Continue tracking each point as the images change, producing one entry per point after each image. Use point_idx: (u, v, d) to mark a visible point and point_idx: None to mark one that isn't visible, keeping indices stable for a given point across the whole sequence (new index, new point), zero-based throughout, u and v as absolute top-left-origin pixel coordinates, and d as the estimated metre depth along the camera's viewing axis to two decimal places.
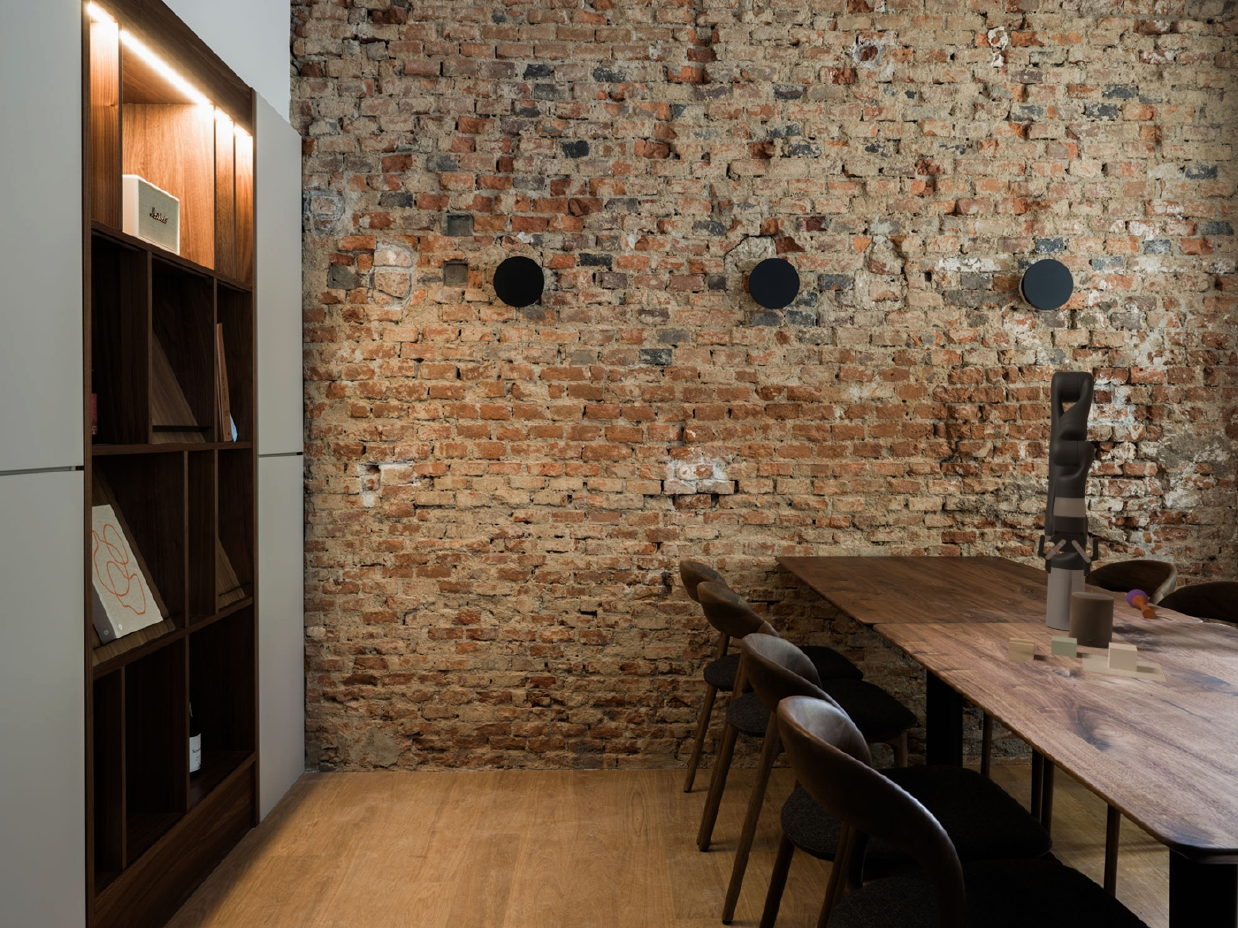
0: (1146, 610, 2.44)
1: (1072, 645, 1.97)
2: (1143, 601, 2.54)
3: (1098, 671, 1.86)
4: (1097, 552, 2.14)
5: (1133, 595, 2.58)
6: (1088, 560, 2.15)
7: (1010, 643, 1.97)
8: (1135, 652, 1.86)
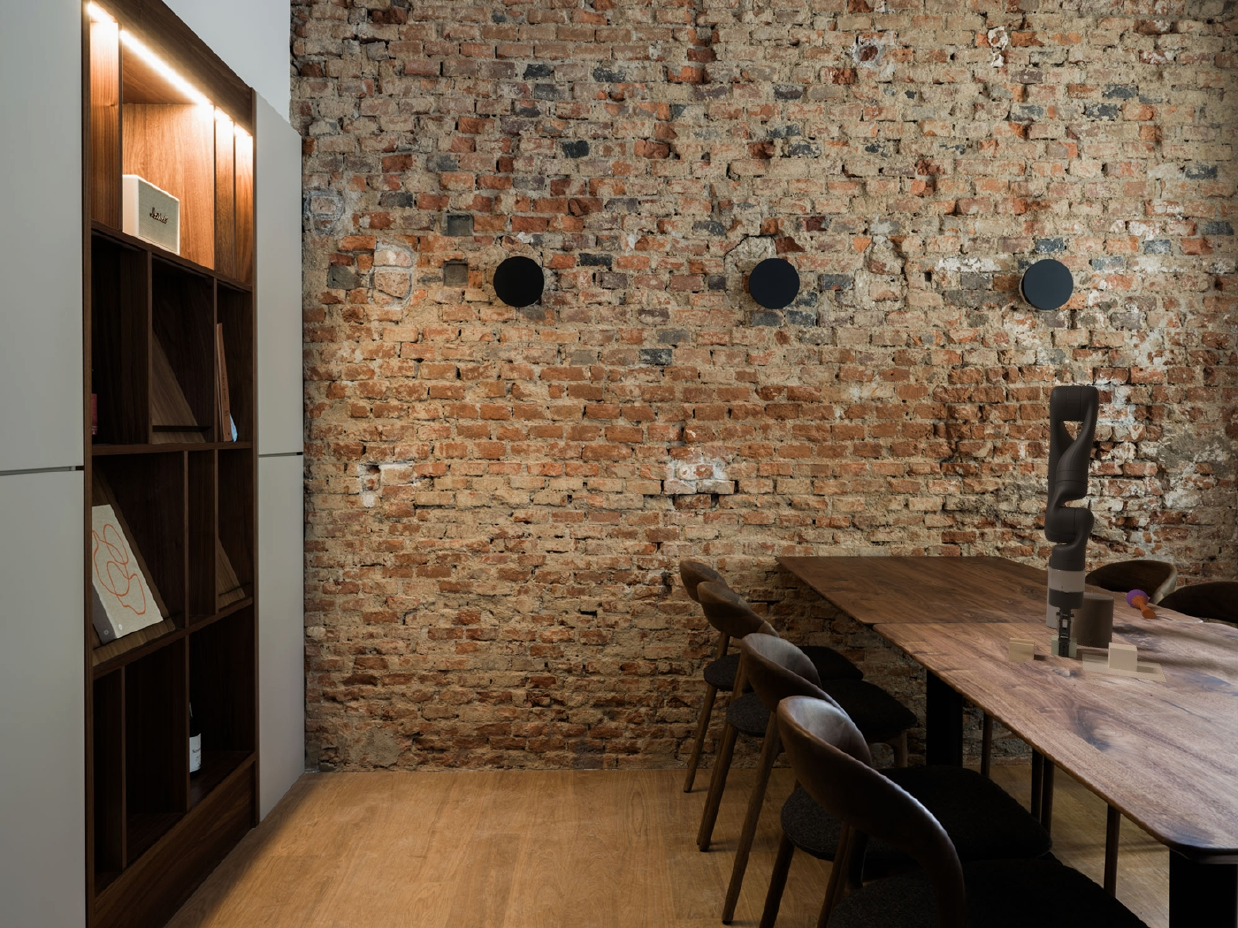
0: (1146, 610, 2.44)
1: (1072, 644, 1.97)
2: (1143, 601, 2.54)
3: (1098, 671, 1.86)
4: None
5: (1133, 595, 2.58)
6: None
7: (1010, 643, 1.97)
8: (1135, 652, 1.86)
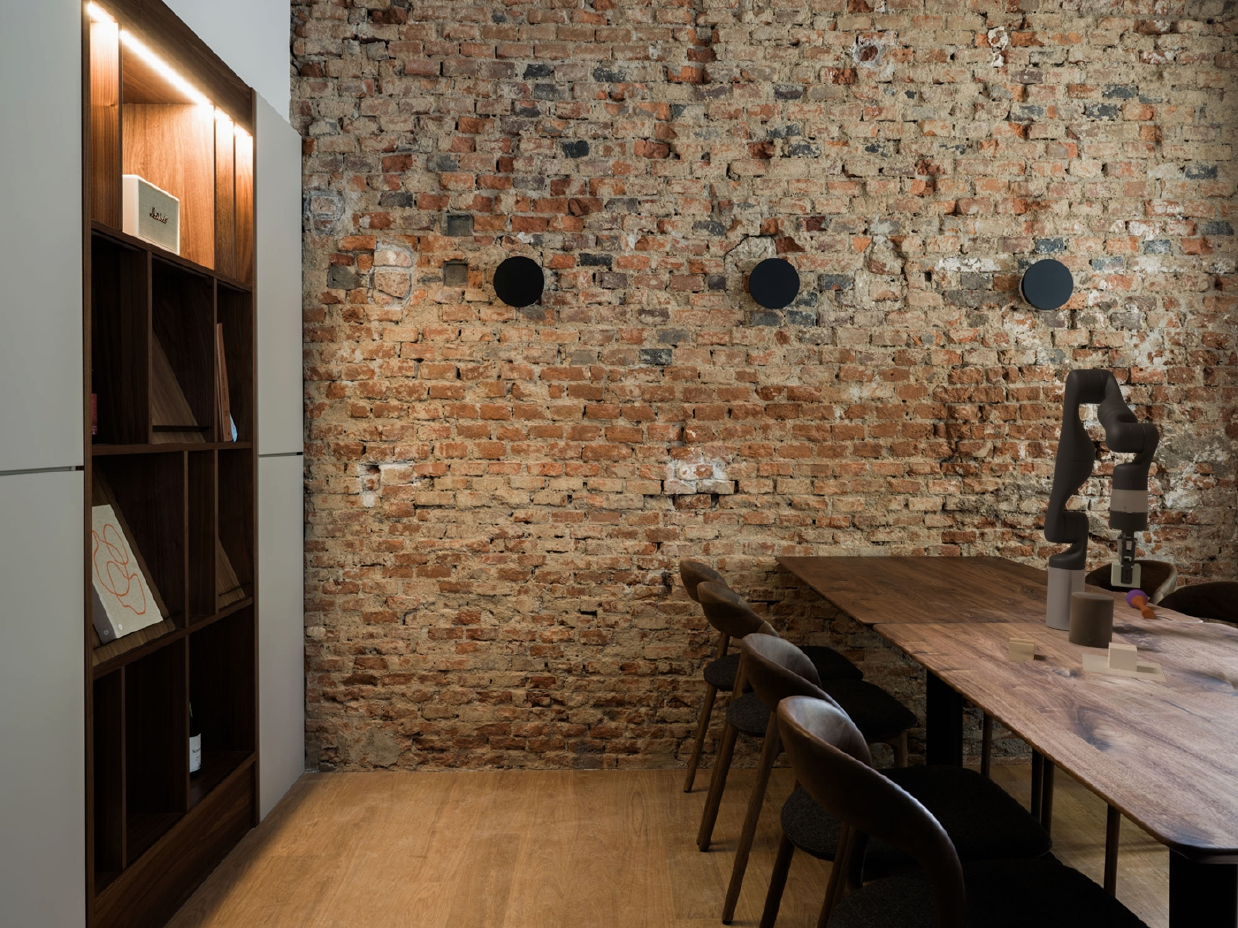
0: (1145, 610, 2.44)
1: (1136, 569, 1.85)
2: (1143, 601, 2.54)
3: (1098, 671, 1.86)
4: None
5: (1133, 595, 2.58)
6: (1131, 561, 1.91)
7: (1010, 643, 1.97)
8: (1135, 652, 1.86)
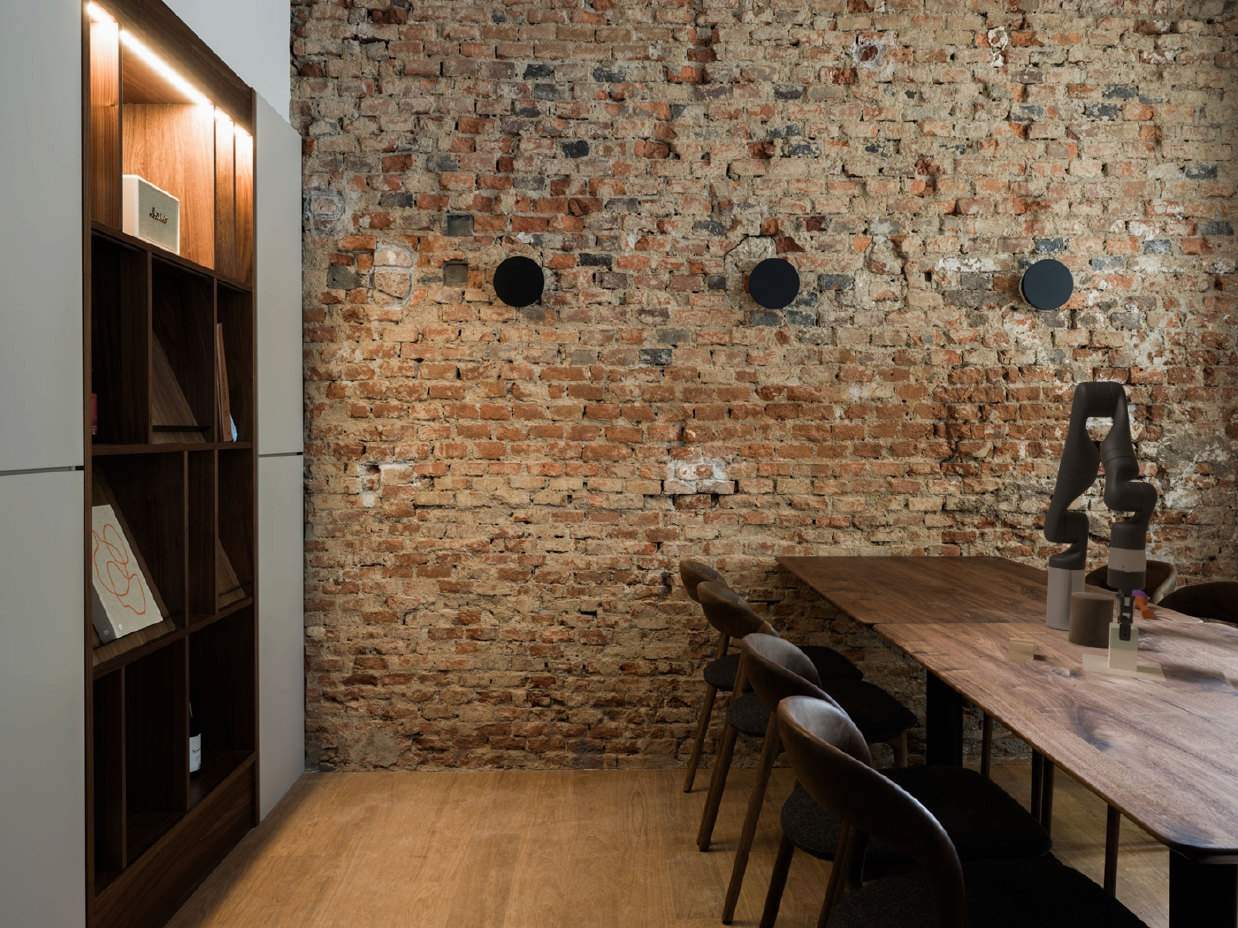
0: (1145, 610, 2.44)
1: (1133, 632, 1.86)
2: (1143, 601, 2.54)
3: (1098, 671, 1.86)
4: None
5: None
6: None
7: (1010, 643, 1.97)
8: (1135, 652, 1.86)
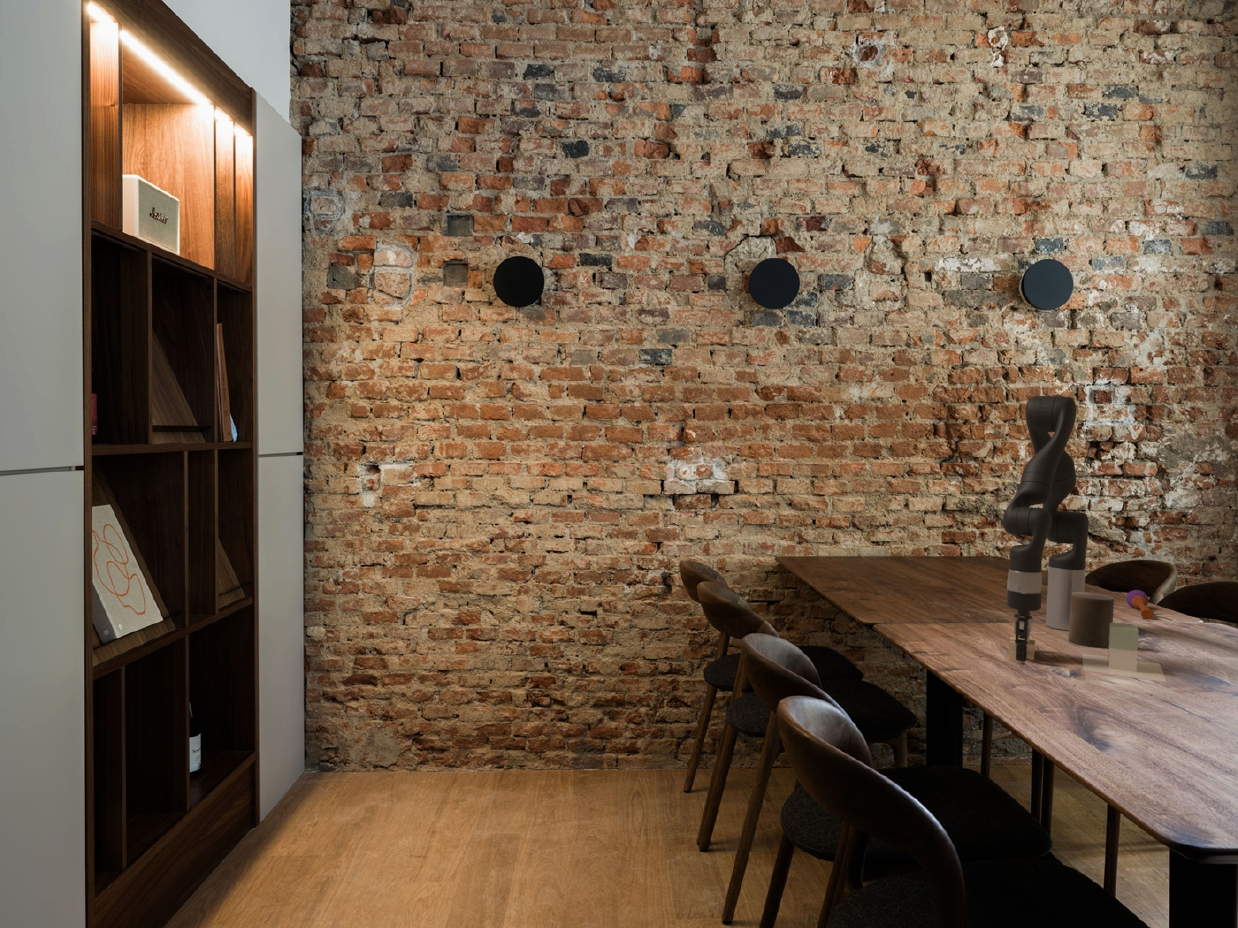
0: (1145, 610, 2.44)
1: (1133, 632, 1.86)
2: (1142, 602, 2.54)
3: (1098, 671, 1.86)
4: None
5: (1133, 596, 2.58)
6: (1028, 637, 2.00)
7: (1010, 643, 1.97)
8: (1135, 652, 1.86)
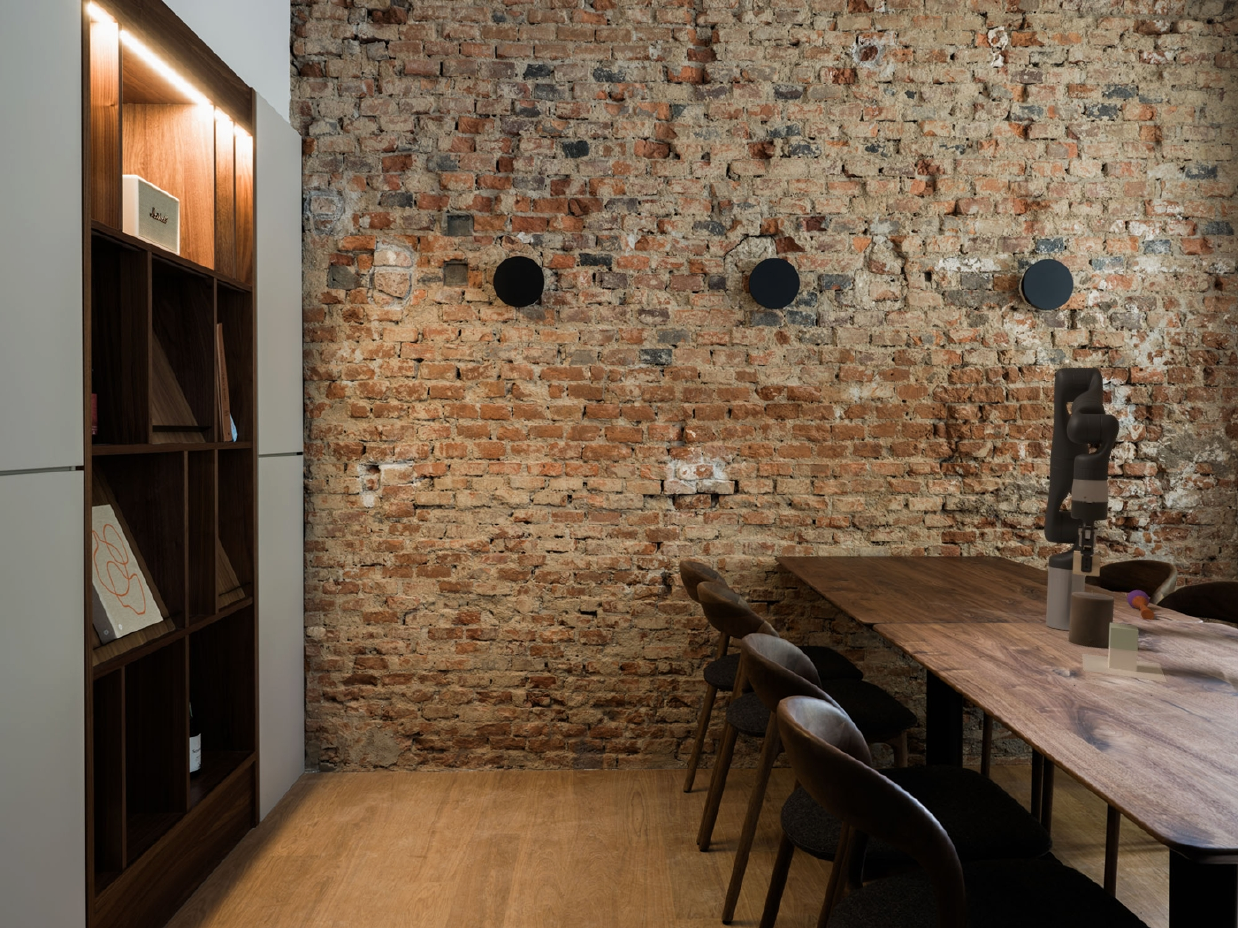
0: (1145, 611, 2.43)
1: (1133, 632, 1.86)
2: (1143, 602, 2.53)
3: (1098, 671, 1.86)
4: None
5: (1133, 596, 2.57)
6: (1093, 550, 1.94)
7: (1075, 554, 1.90)
8: (1135, 652, 1.86)
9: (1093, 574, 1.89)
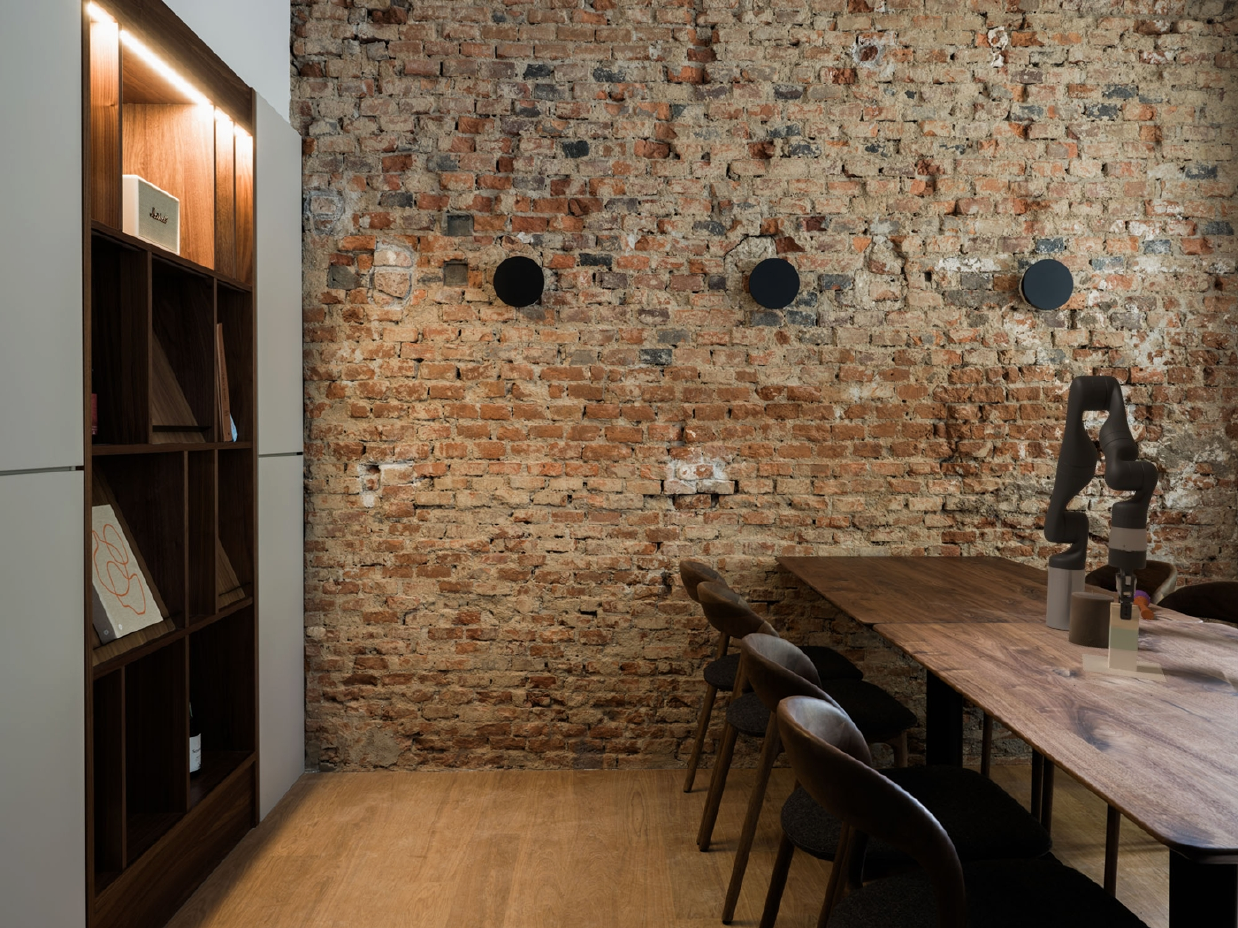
0: (1145, 611, 2.43)
1: (1133, 632, 1.86)
2: (1144, 602, 2.53)
3: (1098, 671, 1.86)
4: None
5: (1134, 596, 2.57)
6: None
7: (1113, 607, 1.88)
8: (1135, 652, 1.86)
9: (1132, 628, 1.86)
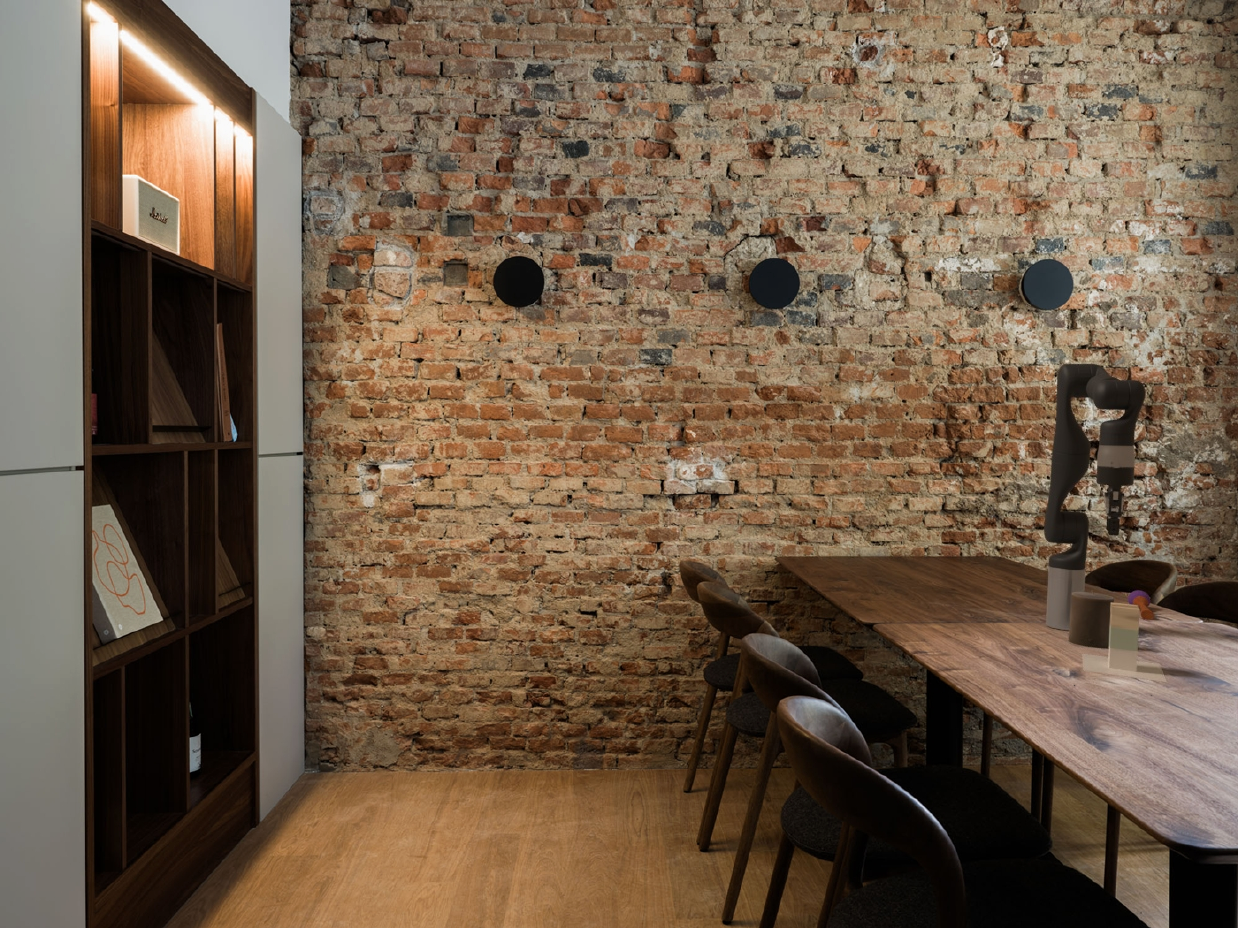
0: (1144, 611, 2.43)
1: (1133, 632, 1.86)
2: (1144, 602, 2.53)
3: (1098, 671, 1.86)
4: None
5: (1134, 596, 2.57)
6: None
7: (1113, 607, 1.88)
8: (1135, 652, 1.86)
9: (1132, 628, 1.86)
